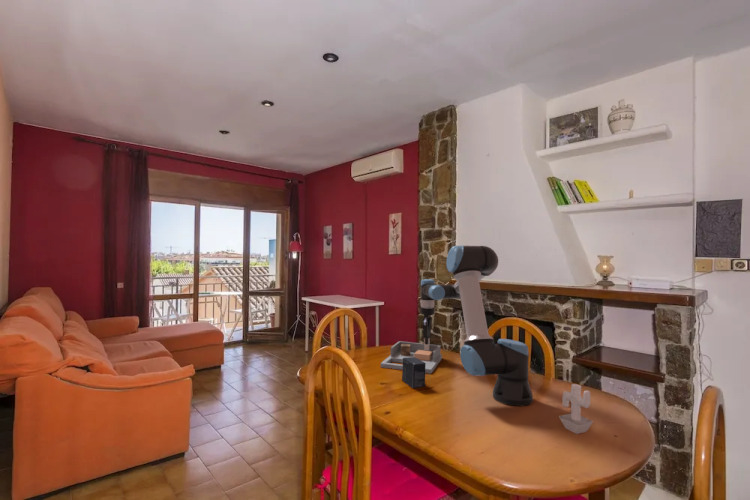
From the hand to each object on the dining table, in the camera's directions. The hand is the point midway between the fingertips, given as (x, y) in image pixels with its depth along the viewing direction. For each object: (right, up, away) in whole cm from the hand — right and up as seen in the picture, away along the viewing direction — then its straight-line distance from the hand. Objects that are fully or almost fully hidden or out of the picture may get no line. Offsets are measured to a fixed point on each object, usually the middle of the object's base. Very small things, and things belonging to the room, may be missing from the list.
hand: (426, 349), depth 205 cm
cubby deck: (-9, -4, -9) cm, 13 cm away
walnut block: (-12, -2, 0) cm, 12 cm away
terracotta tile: (-3, -3, -8) cm, 9 cm away
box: (-12, -5, -40) cm, 42 cm away
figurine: (+38, -5, -82) cm, 90 cm away
